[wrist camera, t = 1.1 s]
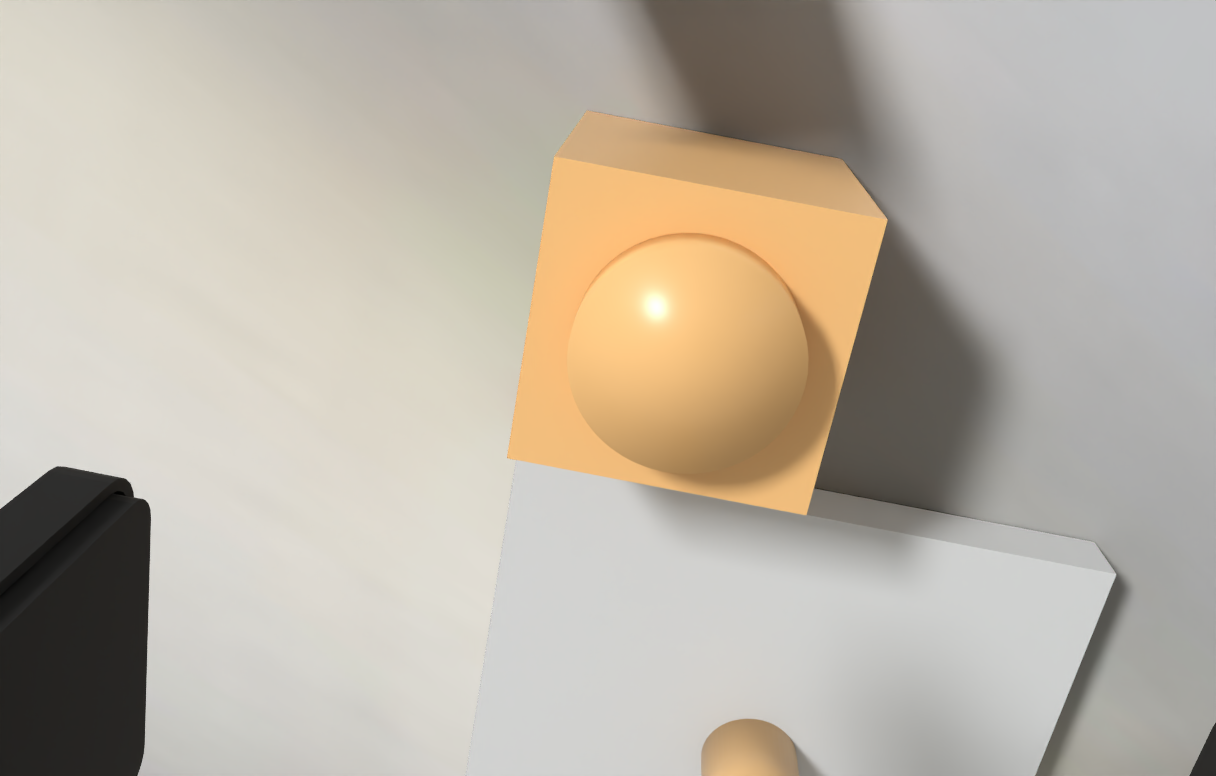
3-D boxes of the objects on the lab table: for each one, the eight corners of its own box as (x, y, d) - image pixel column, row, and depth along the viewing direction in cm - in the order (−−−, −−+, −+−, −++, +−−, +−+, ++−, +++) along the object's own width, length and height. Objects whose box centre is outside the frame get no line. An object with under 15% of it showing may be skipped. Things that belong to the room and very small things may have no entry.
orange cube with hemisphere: (842, 158, 24) (898, 233, 17) (781, 395, 26) (811, 542, 19) (587, 110, 24) (546, 166, 17) (547, 350, 26) (497, 482, 19)
